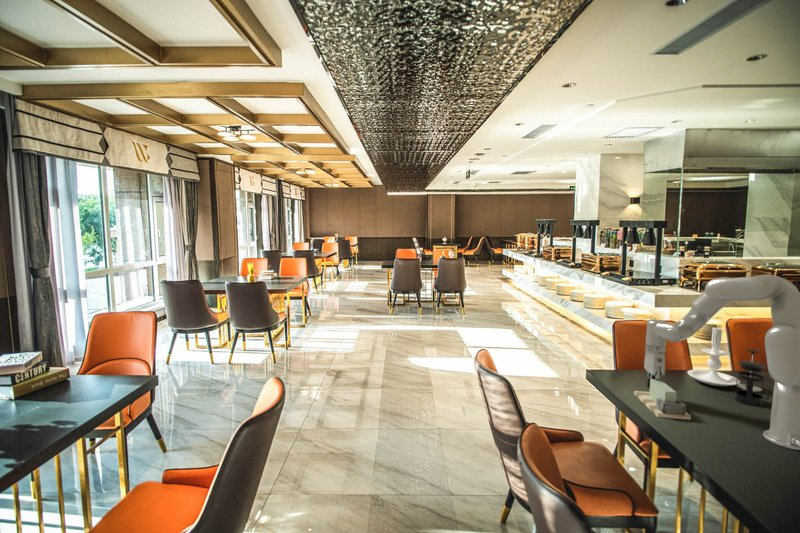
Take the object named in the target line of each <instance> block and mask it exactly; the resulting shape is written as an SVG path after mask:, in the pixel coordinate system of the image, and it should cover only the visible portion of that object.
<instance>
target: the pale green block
mask: <svg viewBox="0 0 800 533" xmlns="http://www.w3.org/2000/svg"><path fill="white" fill-rule="evenodd" d="M648 392H649V397H650V398H651V399H652V400H653V401H654V402H655V403H656V399H657V398H660V399H661V400H663V401H664V402H665V403H676V399H677V391H676V390H674V389H673V388H672V387H670V385H668V384H666V382H664V381H663V380H661V379H650V389H649V391H648Z"/></svg>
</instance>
